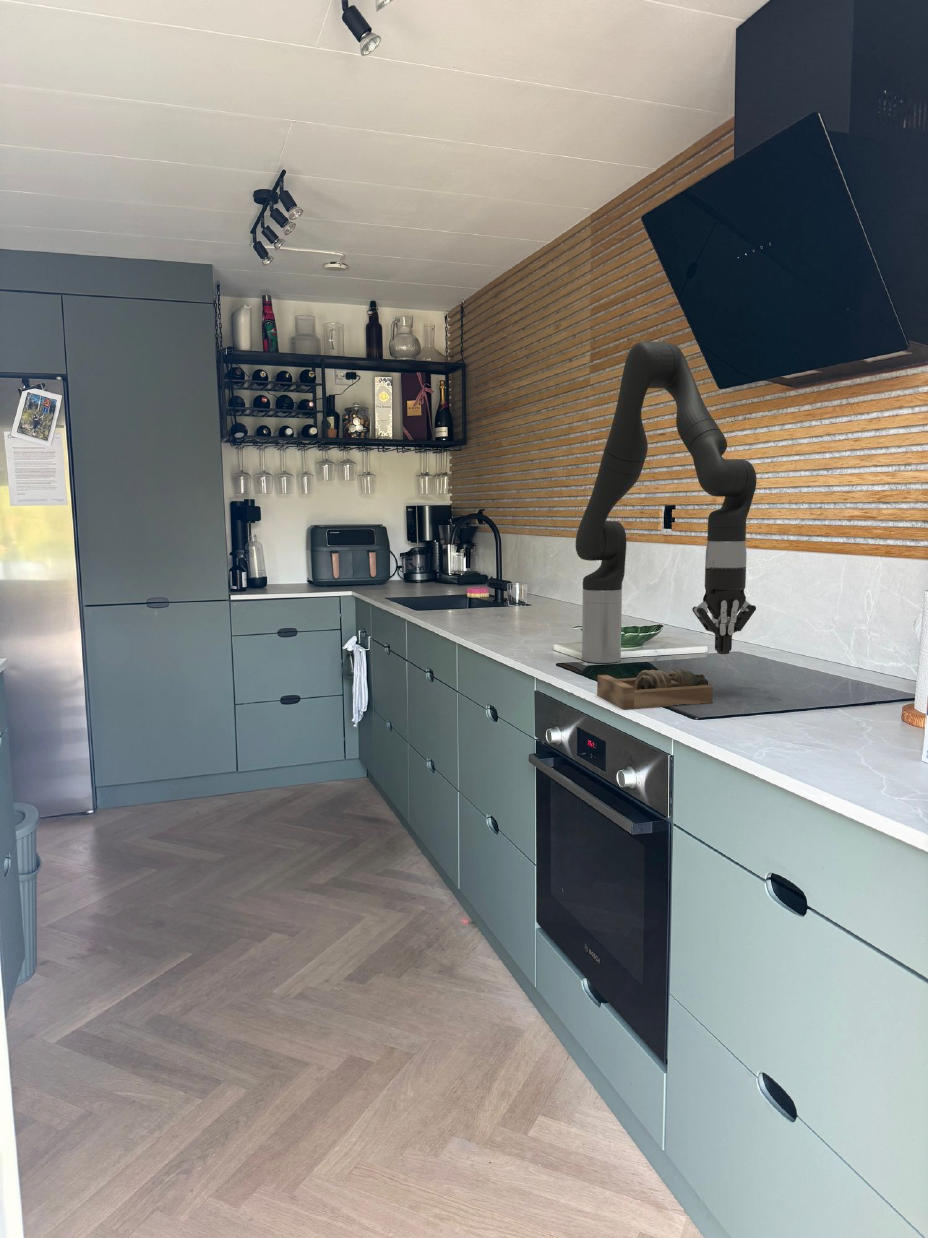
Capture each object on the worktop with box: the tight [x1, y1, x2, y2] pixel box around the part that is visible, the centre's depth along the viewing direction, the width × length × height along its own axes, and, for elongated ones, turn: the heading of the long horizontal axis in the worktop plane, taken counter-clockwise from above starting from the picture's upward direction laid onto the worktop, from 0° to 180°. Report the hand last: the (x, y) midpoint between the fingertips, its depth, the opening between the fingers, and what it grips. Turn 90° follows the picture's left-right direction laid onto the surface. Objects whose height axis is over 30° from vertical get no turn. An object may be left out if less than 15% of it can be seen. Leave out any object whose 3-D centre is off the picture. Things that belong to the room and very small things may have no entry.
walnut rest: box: [596, 674, 714, 710], centre depth 157 cm, size 12×18×4 cm, turn 105°
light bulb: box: [635, 668, 709, 690], centre depth 157 cm, size 6×6×15 cm
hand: (722, 653), depth 160 cm, fingers closed
